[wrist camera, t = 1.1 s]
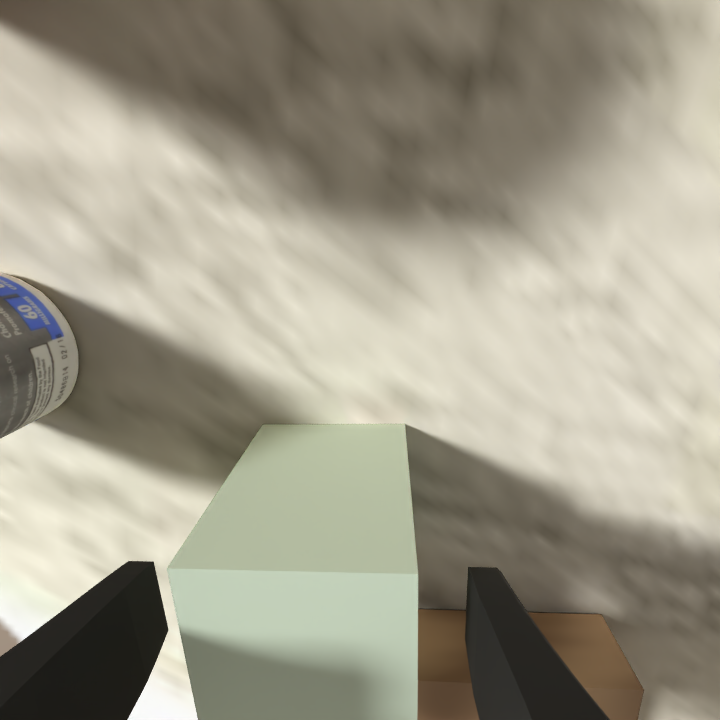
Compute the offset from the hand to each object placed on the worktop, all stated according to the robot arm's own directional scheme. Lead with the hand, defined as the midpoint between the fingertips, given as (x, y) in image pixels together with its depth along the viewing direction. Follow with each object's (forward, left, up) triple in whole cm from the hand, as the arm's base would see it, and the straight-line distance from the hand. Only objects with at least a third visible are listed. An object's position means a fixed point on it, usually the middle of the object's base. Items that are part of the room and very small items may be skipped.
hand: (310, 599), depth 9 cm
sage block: (0, 0, -5) cm, 5 cm away
